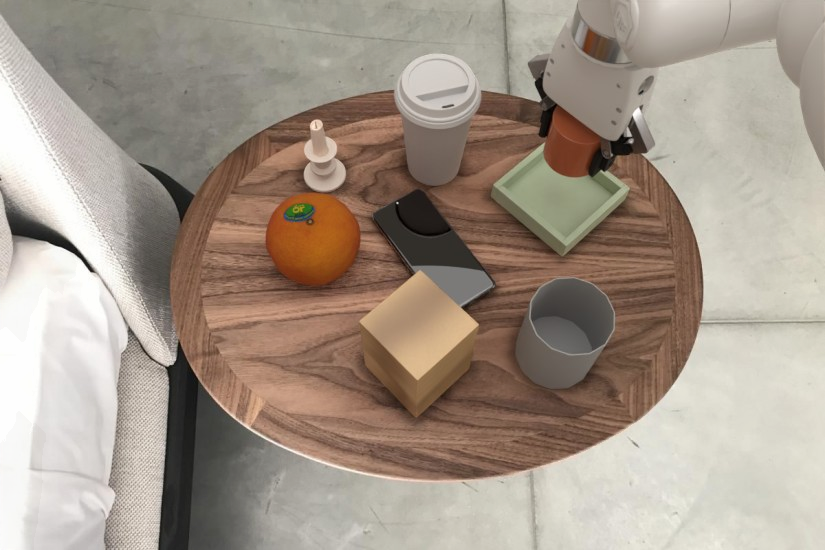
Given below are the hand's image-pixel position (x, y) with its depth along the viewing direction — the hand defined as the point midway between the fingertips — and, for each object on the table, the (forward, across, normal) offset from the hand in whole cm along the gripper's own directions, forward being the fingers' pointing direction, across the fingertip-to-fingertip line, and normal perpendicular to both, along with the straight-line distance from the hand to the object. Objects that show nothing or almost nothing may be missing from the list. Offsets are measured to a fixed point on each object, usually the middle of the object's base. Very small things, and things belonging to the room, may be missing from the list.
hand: (573, 148), depth 79 cm
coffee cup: (+10, +14, +8) cm, 19 cm away
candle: (+10, +22, +18) cm, 30 cm away
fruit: (+10, +14, +26) cm, 32 cm away
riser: (+10, -4, +28) cm, 29 cm away
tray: (+10, 0, 0) cm, 10 cm away
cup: (+10, -13, +16) cm, 23 cm away
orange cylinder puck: (+1, 0, 0) cm, 1 cm away
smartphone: (+10, +5, +16) cm, 20 cm away
